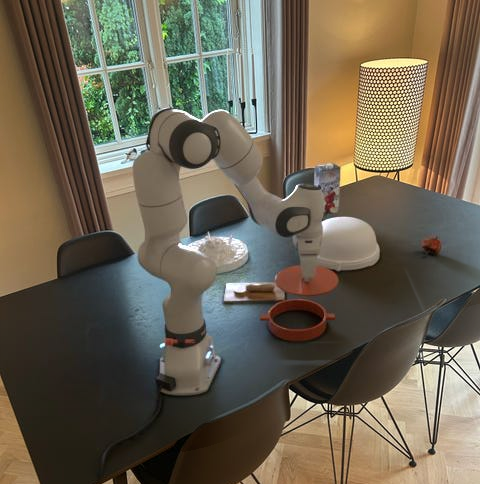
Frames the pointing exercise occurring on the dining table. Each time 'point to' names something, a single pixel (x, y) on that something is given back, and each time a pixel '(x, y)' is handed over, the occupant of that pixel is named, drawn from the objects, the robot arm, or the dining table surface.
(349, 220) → the dome cover
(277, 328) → the pan
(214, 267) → the robot arm
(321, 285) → the lid
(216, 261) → the cake
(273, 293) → the board
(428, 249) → the pomegranate
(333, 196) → the juice carton
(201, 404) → the dining table surface
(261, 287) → the spoon
